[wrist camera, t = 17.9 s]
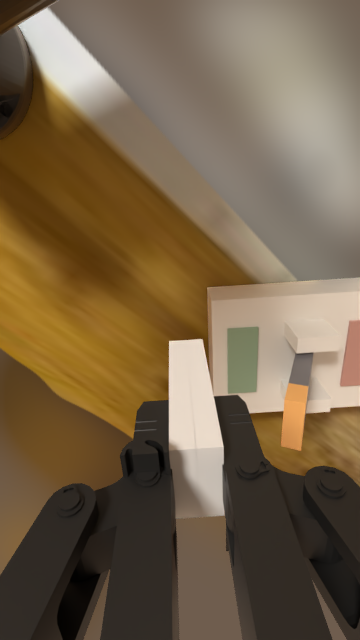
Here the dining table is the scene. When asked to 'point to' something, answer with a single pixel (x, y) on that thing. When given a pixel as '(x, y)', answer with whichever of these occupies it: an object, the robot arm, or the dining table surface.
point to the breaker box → (285, 341)
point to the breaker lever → (296, 401)
